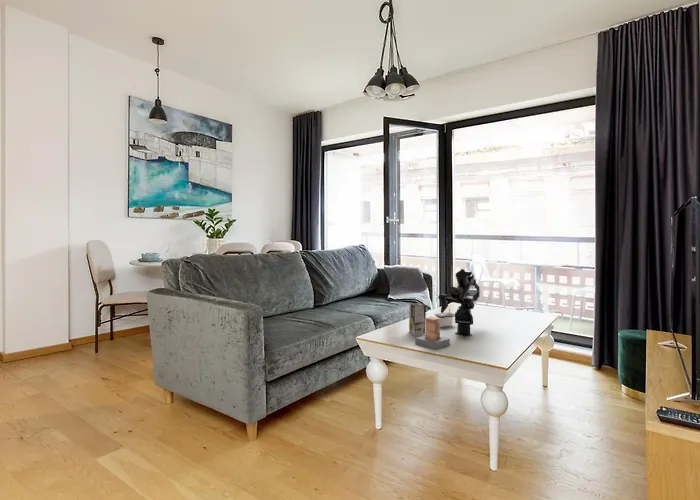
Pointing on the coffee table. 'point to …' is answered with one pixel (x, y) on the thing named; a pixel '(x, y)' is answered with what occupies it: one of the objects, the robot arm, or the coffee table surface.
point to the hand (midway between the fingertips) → (449, 314)
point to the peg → (432, 328)
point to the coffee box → (417, 319)
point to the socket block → (432, 342)
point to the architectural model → (445, 318)
